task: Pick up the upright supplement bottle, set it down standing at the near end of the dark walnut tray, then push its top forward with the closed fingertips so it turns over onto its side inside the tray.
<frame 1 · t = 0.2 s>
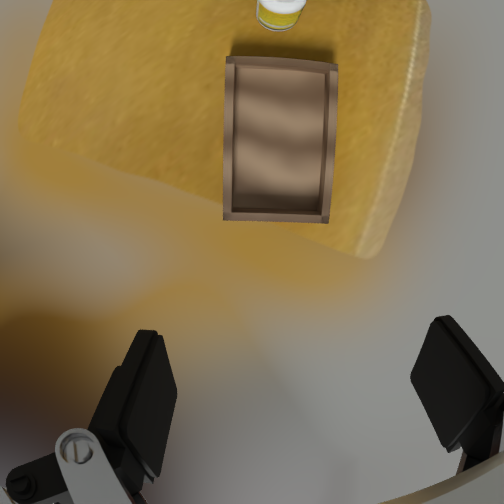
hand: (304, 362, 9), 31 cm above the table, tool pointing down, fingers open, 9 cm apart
supplement bottle: (277, 16, 28), on the table
tray: (278, 138, 35), on the table
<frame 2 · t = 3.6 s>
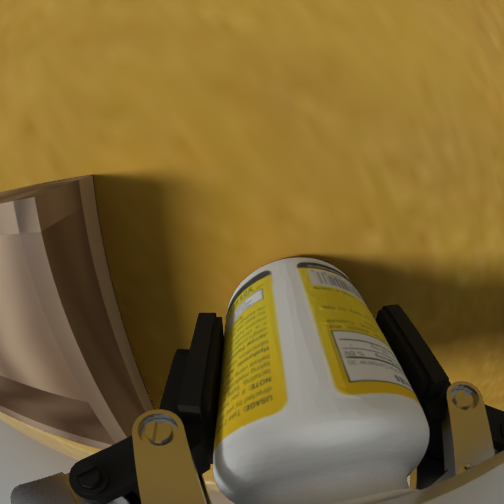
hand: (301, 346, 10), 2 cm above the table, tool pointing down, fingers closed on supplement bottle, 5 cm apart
supplement bottle: (293, 311, 12), on the table, touching gripper
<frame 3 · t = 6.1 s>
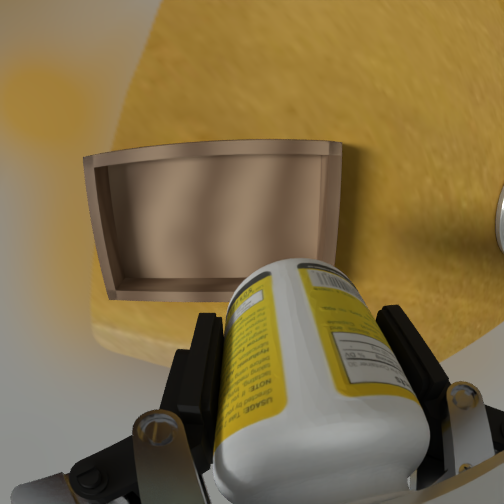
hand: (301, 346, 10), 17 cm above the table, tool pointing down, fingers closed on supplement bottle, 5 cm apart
supplement bottle: (293, 312, 12), point 15 cm above the table, touching gripper
tray: (213, 215, 25), on the table
when the fingers open (4 cm above the table, at t = 8.6 s): supplement bottle drops 1 cm, resting on tray.
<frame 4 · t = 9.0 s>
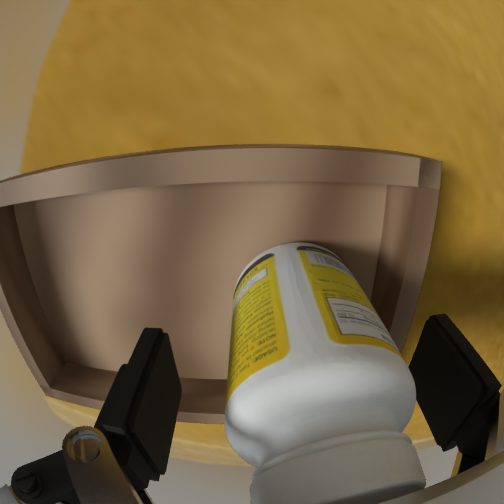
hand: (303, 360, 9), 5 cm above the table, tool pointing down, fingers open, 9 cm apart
supplement bottle: (294, 293, 13), point 1 cm above the table, touching tray
tray: (184, 286, 14), on the table
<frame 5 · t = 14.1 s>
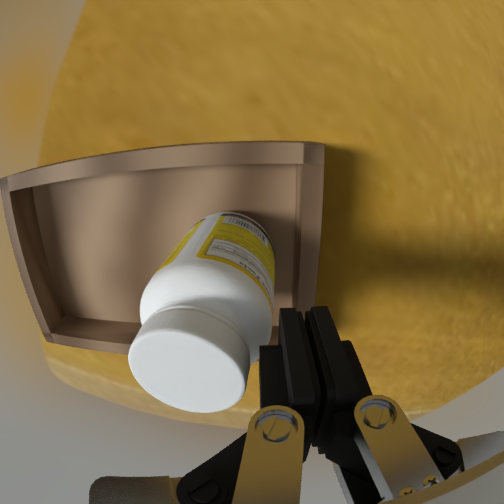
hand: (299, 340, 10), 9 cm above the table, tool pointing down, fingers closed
supplement bottle: (230, 252, 18), point 1 cm above the table, touching gripper, tray
tray: (153, 247, 19), on the table
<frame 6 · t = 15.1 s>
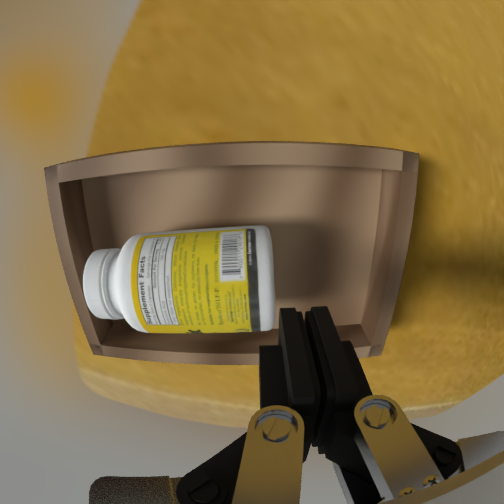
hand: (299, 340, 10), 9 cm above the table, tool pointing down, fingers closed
supplement bottle: (277, 278, 15), point 4 cm above the table, touching tray
tray: (229, 248, 18), on the table
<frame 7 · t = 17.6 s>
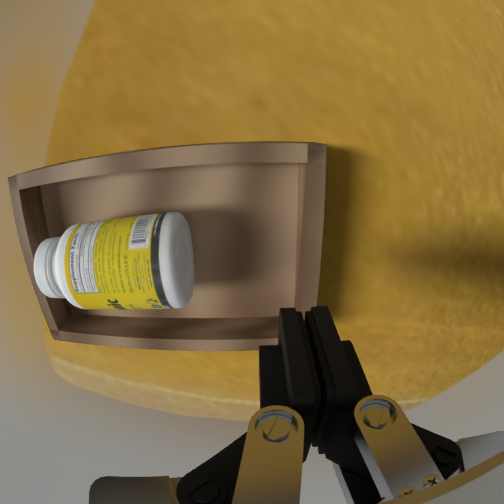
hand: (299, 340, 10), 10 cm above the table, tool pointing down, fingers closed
supplement bottle: (190, 260, 16), point 4 cm above the table, touching tray
tray: (162, 243, 20), on the table
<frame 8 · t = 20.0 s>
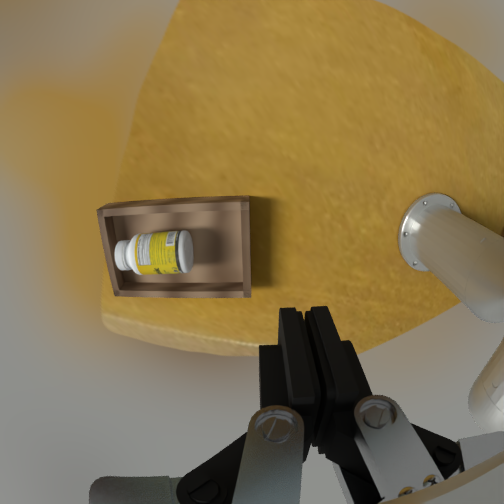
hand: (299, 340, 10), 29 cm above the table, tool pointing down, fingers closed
supplement bottle: (191, 251, 36), point 4 cm above the table, touching tray
tray: (178, 244, 40), on the table
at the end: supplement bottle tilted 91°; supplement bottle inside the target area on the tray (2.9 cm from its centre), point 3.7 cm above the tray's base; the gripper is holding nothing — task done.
